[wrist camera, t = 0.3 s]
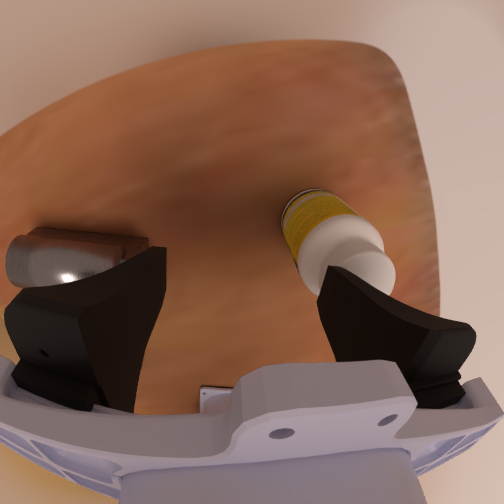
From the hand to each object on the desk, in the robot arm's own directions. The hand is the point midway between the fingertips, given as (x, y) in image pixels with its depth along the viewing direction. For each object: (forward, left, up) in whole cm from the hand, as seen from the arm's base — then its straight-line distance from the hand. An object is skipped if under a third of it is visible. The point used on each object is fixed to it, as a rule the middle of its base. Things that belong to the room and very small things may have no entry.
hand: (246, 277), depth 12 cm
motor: (-8, +13, -10) cm, 18 cm away
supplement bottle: (0, -6, -10) cm, 12 cm away
